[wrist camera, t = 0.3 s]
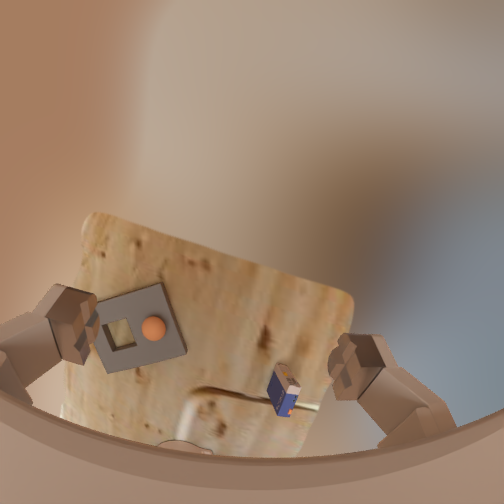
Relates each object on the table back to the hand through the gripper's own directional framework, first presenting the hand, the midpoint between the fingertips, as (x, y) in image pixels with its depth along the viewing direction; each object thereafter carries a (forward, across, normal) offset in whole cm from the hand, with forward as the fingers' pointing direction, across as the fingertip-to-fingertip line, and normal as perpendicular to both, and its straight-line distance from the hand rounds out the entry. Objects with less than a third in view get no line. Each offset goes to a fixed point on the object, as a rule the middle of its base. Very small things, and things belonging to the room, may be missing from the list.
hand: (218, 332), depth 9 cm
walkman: (+35, +19, -47) cm, 62 cm away
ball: (+34, -10, -36) cm, 50 cm away
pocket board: (+38, -15, -41) cm, 58 cm away
